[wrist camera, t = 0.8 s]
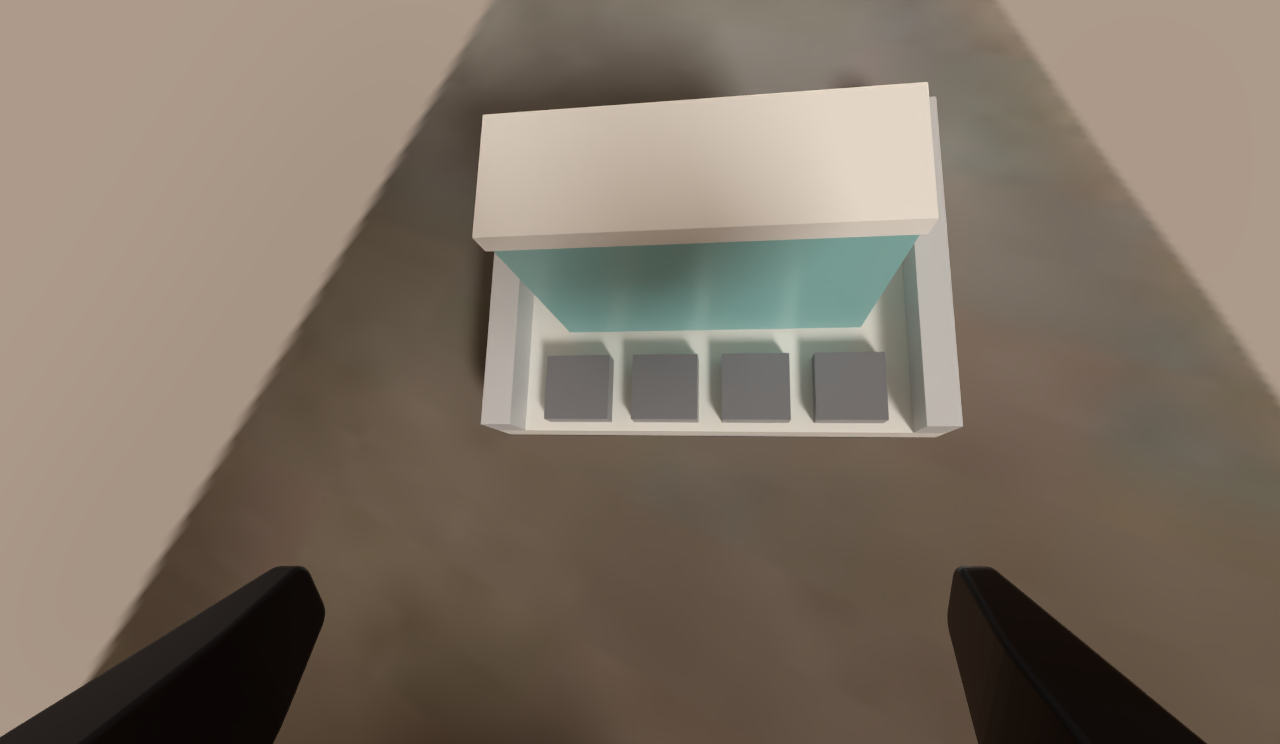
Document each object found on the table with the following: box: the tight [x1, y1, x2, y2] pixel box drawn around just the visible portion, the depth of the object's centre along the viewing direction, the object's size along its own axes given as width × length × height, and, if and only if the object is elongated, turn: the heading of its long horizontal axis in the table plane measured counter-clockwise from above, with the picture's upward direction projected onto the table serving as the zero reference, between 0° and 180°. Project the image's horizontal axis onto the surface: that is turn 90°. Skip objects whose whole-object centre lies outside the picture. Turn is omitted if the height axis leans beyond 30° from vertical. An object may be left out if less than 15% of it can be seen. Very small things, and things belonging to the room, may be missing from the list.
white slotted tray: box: [481, 97, 963, 437], centre depth 23 cm, size 11×15×3 cm
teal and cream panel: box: [472, 82, 939, 333], centre depth 18 cm, size 3×10×8 cm, turn 89°
